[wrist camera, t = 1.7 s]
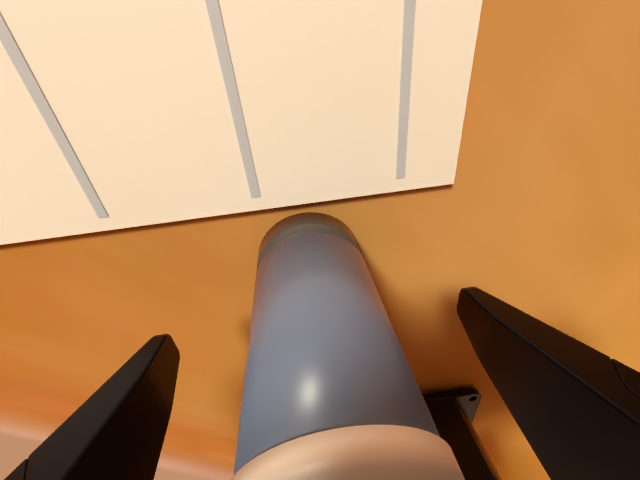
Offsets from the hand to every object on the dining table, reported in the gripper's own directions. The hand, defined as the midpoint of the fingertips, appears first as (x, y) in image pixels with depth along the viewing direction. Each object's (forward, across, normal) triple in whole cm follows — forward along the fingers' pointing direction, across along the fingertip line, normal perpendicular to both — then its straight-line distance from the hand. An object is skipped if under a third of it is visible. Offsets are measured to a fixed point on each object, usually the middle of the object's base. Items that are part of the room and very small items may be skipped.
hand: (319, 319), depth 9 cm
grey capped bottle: (+3, 0, 0) cm, 3 cm away
